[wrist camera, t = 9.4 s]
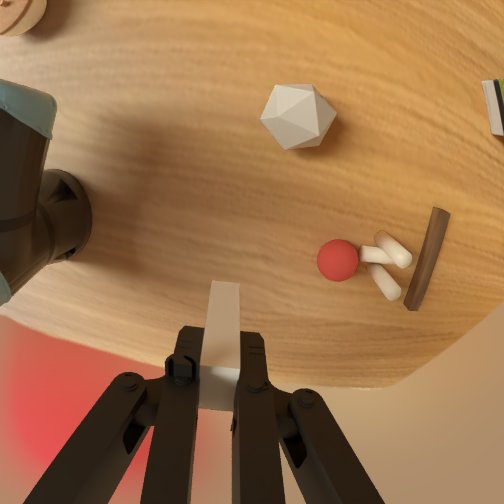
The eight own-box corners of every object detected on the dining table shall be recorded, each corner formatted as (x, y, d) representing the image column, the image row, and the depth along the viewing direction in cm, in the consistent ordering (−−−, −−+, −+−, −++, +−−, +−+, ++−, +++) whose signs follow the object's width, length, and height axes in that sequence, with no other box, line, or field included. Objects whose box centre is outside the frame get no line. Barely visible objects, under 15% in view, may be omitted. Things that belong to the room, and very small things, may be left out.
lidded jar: (66, 4, 29) (35, -11, 20) (23, 52, 31) (-12, 46, 22) (44, -22, 25) (16, -37, 17) (5, 22, 28) (-27, 15, 19)
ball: (355, 279, 46) (322, 262, 48) (368, 244, 43) (333, 228, 46) (342, 295, 41) (305, 276, 44) (356, 257, 38) (316, 239, 41)
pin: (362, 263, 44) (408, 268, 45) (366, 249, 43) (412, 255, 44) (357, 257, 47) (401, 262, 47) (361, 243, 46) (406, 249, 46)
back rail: (403, 303, 50) (409, 310, 48) (433, 207, 43) (441, 211, 41) (412, 303, 50) (417, 310, 48) (442, 209, 43) (450, 213, 41)
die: (325, 147, 41) (360, 109, 32) (279, 172, 38) (310, 131, 29) (289, 104, 41) (316, 61, 32) (242, 124, 38) (262, 76, 29)
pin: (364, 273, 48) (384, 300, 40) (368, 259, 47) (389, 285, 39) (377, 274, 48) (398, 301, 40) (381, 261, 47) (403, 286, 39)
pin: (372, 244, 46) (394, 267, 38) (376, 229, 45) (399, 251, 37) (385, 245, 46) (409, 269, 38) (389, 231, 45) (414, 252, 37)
